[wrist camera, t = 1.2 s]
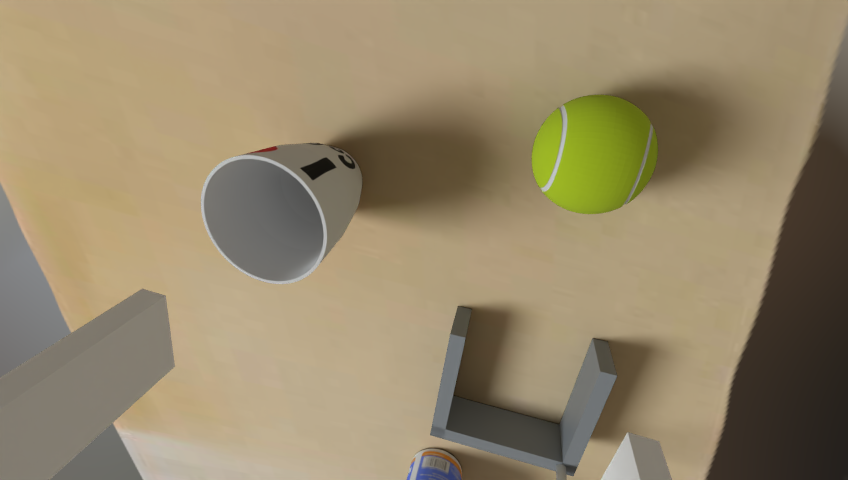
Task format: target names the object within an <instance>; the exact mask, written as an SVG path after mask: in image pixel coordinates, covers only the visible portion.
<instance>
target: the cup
mask: <svg viewBox="0 0 848 480" xmlns="http://www.w3.org/2000/svg"><path fill="white" fill-rule="evenodd" d="M361 190H362V174H361V171H360V168H359V166H358V164H357V163H356V161H355V160H354V159H353V158H352V157H351V156H350V155H349V154H348V153H347V152H345V151H343V150H341V149H339V148H336V147H332V146H328V145H323V144H319V143H303V144H288V145H278V146H274V147H270V148H266V149H262V150H259V151H255V152H251V153H247V154H243V155H239V156H235V157H232V158H229V159H227V160H225V161H223V162H221V163H220V164H218V165H217V166H216V167H215V168H214V169H213V170H212V171H211V173H210V174H209V175H208V177H207V179H206V181H205V183H204V186H203V190H202V195H201V211H202V217H203V221H204V224H205V227H206V230H207V232H208V234H209V236H210V238H211V240H212V242H213V243H214V245H215V246H216V248H217V249H218V251H219V252H220V253H221V254H222V255H223V256H224V258H225V259H226V260H227V261H228V262H230V263H231V264H232V265H233V266H234V267H236V268H237V269H238V270H240V271H241V272H243V273H244V274H246V275H248V276H250V277H252V278H254V279H257V280H260V281H263V282H267V283H273V284H287V283H293V282H296V281H299V280H301V279H303V278H305V277H307V276H308V275H310V274H311V273H312V272H313V271H314V270H315V269H316V268H317V266H318V265H319V264H320V263H321V262H322V260H323V259H324V258H325V257H326V255H327V254H328V253H329V252H330V250H331V249H332V248H333V247H334V245H335V244H336V243H337V242H338V241H339V239H340V238H341V237H342V235H343V234H344V232H345V230H346V228H347V226H348V225H349V223H350V221H351V219H352V217H353V215H354V213H355V211H356V210H357V207H358V205H359V201H360V195H361Z"/></svg>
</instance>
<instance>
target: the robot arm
mask: <svg viewBox="0 0 848 480" xmlns="http://www.w3.org/2000/svg"><path fill="white" fill-rule="evenodd" d="M174 367H175V364H174V356H173V349H172V341H171V333H170V326H169V318H168V310H167V303H166V296H165V295H162V294H159V293H155V292H152V291H148V290H145V289H141V290H140V291H138V292H136V293H135V294H133V295H132V296H130V297H128V298H127V299H125V300H124V301H122V302H120V303H119V304H117V305H116V306H114V307H112V308H111V309H109V310H108V311H106V312H104V313H103V314H101V315H100V316H98V317H96V318H95V319H93V320H92V321H90V322H88V323H87V324H85V325H84V326H82V327H80V328H79V329H77V330H76V331H74V332H72V333H71V334H69V335H68V336H66V337H65V338H63V339H61V340H60V341H58V342H57V343H55V344H53V345H52V346H50V347H49V348H47V349H45V350H44V351H42V352H41V353H39V354H37V355H36V356H34V357H33V358H31V359H29V360H28V361H26V362H25V363H23V364H22V365H20V366H18V367H17V368H15V369H13V370H12V371H10V372H9V373H7V374H6V375H4V376H2V377H1V378H0V480H50V479H51V478H52V477H53V476H54V475H55V474H56V473H57V472H59V471H60V470H61V469H62V468H63V467H64V466H65V465H66V464H67V463H69V462H70V461H71V460H72V459H73V458H74V457H75V456H76V455H77V454H79V453H80V452H81V451H82V450H83V449H84V448H85V447H86V446H87V445H88V444H89V443H91V442H92V441H93V440H94V439H95V438H96V437H97V436H98V435H100V434H101V433H102V432H103V431H104V430H105V429H106V428H107V427H108V426H109V425H110V424H112V423H113V422H114V421H115V420H116V419H117V418H118V417H119V416H121V415H122V414H123V413H124V412H125V411H126V410H127V409H128V408H129V407H131V406H132V405H133V404H134V403H135V402H136V401H137V400H138V399H139V398H140V397H142V396H143V395H144V394H145V393H146V392H147V391H148V390H149V389H150V388H152V387H153V386H154V385H155V384H156V383H157V382H158V381H159V380H160V379H162V378H163V377H164V376H165V375H166V374H167V373H168V372H169V371H170V370H171V369H173V368H174ZM601 480H672V478H671V475H670V472H669V469H668V466H667V463H666V460H665V457H664V454H663V451H662V448H661V445H660V442H659V441H656V440H653V439H649V438H646V437H643V436H639V435H636V434H632V433H629V432H627V434H626V436H625V438H624V440H623V441H622V443H621V445H620V447H619V448H618V450H617V452H616V454H615V455H614V457H613V459H612V461H611V463H610V464H609V466H608V468H607V470H606V471H605V473H604V475H603V477H602V478H601Z"/></svg>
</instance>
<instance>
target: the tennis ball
mask: <svg viewBox="0 0 848 480" xmlns="http://www.w3.org/2000/svg"><path fill="white" fill-rule="evenodd" d="M657 156H658V143H657V136H656V133H655V130H654V127H653V125H652V124H651V123H650V120H649V119H648V117H647V116H646V115H645V114H644V113H643V112H642V111H641V110H640V109H639V108H638V107H636V106H635V105H633V104H632V103H630V102H628V101H626V100H624V99H621V98H618V97H614V96H609V95H589V96H583V97H579V98H576V99H574V100H571V101H569V102H567V103H565V104H563V106H562V107H560V108H557V109H556V110H555V111H554V112H553V113H552V114H551V115H550V116H549V117H548V118H547V119H546V121H545V122H544V123H543V125H542V126H541V128H540V130H539V131H538V134H537V136H536V138H535V141H534V145H533V150H532V169H533V174H534V177H535V180H536V182H537V184H538V186H539V187H540V188H541V191H542V192H543V193H544V194H545V195H546V196H547V197H548V198H549V199H550V200H551V201H552V202H554V203H555V204H557V205H558V206H560V207H562V208H564V209H567V210H569V211H572V212H576V213H582V214H599V213H605V212H609V211H612V210H615V209H618V208H620V207H622V206H623V205H624V204H627V203H629V202H630V201H632V200H633V199H634V198H635V197H636V196H637V195H638V194H639V193H640V192H641V191H642V190H643V189H644V188H645V186H646V185H647V183H648V182H649V180H650V178H651V176H652V174H653V172H654V169H655V166H656V162H657Z"/></svg>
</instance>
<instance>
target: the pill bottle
mask: <svg viewBox="0 0 848 480" xmlns="http://www.w3.org/2000/svg"><path fill="white" fill-rule="evenodd" d="M461 478H462V469H461V466H460V464H459V462H458V461H457V459H456V458H455V457H454V456H452V455H451V454H450V453H448V452H446V451H443V450H440V449H425V450H422V451H420V452H418V453H417V454H416V455H415V456H414V458H413V460H412V463H411V466H410V470H409V473H408V477H407V480H461Z"/></svg>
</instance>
